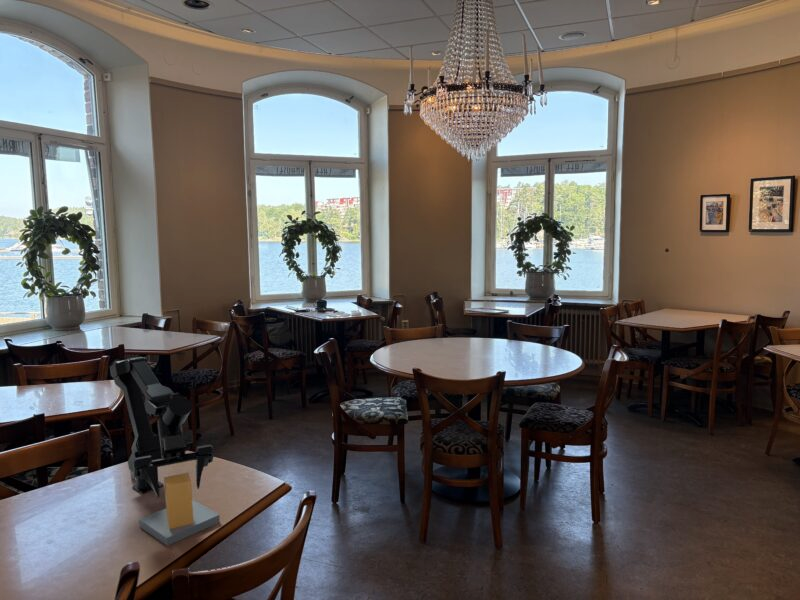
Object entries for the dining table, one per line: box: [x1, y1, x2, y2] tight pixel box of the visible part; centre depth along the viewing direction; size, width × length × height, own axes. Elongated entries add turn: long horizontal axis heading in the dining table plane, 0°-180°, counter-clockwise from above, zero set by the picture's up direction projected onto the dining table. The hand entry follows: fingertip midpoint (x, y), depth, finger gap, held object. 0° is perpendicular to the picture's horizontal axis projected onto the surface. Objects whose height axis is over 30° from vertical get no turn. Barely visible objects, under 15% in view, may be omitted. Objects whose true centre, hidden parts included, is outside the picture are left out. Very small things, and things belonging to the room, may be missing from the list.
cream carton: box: [163, 472, 193, 529], centre depth 136 cm, size 6×6×11 cm
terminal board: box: [138, 499, 221, 547], centre depth 139 cm, size 14×14×5 cm
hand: (178, 492), depth 135 cm, fingers open, 9 cm apart
